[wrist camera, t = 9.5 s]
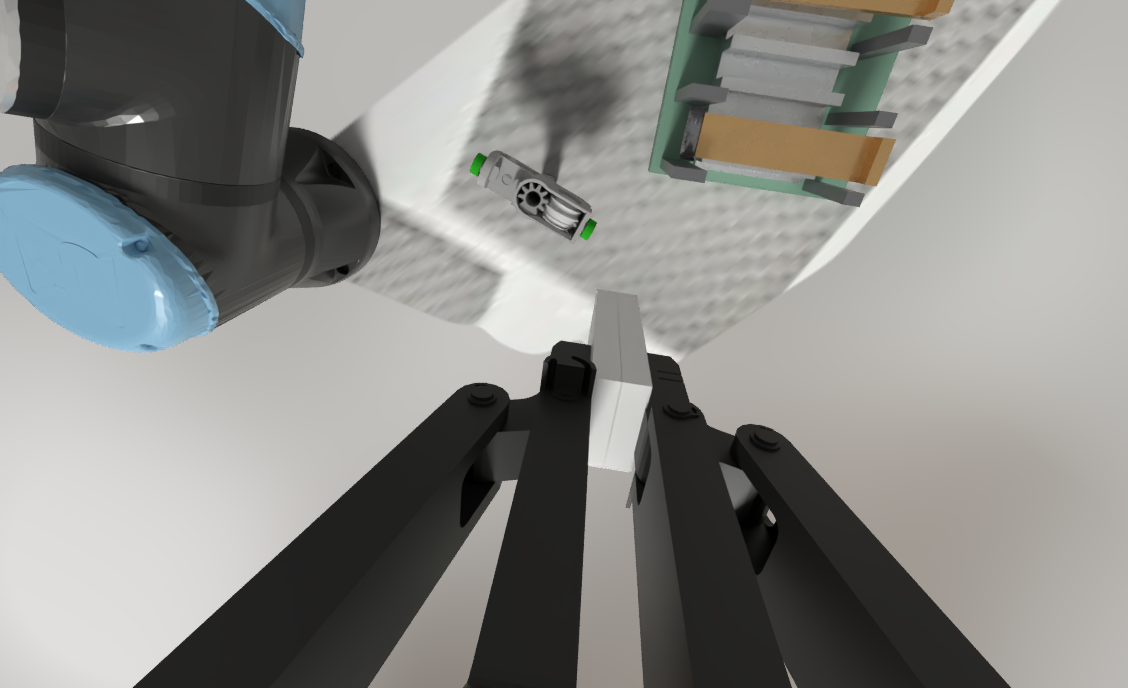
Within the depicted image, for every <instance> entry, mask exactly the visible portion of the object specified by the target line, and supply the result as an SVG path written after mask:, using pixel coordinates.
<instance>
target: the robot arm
mask: <svg viewBox="0 0 1128 688" xmlns="http://www.w3.org/2000/svg"><path fill="white" fill-rule="evenodd" d="M304 10H305V0H0V113H6V114H13V115H19V116H26V117H32V118H33V123H34V135H35V148H36V164H31V165H30V164H21V165H14V166H10V167H8V168H6V169H5V170H3V171H2V172H0V272H1V273H2V274H3V276H4V277H5V278H6V279H7V280H8V282H9V283H10V284H11V285H12V286H13V287H14V288H15V289H16V290H17V291H18V292H19V293H20V294H21V295H22V296H24V297H25V298H26V299H27V300H28V301H29V302H30V303H31V304H32V305H33V306H34V307H35V308H36V309H38V310H39V311H40V312H41V313H43V314H44V315H45V316H47V317H48V318H49V319H51V320H52V321H54V322H56V323H57V324H58V325H60V326H62V327H63V328H65V329H67V330H68V331H70V332H72V333H74V334H76V335H78V336H80V337H82V338H84V339H86V340H89V341H91V342H94V343H96V344H99V345H102V346H105V347H109V348H112V349H116V350H122V351H128V352H155V351H159V350H164V349H167V348H170V347H173V346H175V345H177V344H179V343H182V342H184V341H186V340H188V339H191V338H196V337H199V336H204V335H206V334H208V333H210V332H211V331H213V330H214V329H215V328H216V327H218V326H220V325H222V324H224V323H226V322H227V321H229V320H231V319H233V318H235V317H237V316H238V315H240V314H242V313H244V312H246V311H247V310H249V309H251V308H253V307H255V306H257V305H259V304H260V303H262V302H264V301H266V300H268V299H269V298H271V297H273V296H275V295H277V294H279V293H280V292H282V291H284V290H286V289H288V288H309V287H324V286H329V285H332V284H336V283H338V282H341V281H343V280H345V279H346V278H348V277H350V276H351V275H353V274H355V273H356V272H358V271H359V270H360V269H362V268H363V267H364V266H365V265H366V264H367V262H368V261H369V260H370V258H371V257H372V255H373V253H374V251H375V249H376V246H377V243H378V238H379V232H380V216H379V209H378V205H377V201H376V198H375V195H374V192H373V190H372V188H371V185H370V183H369V181H368V180H367V178H366V176H365V175H364V173H363V172H362V170H361V169H360V167H359V166H358V165H357V163H356V162H355V161H354V160H353V159H352V158H351V157H350V156H349V155H348V154H347V153H346V152H345V151H344V150H343V149H342V148H340V147H339V146H338V145H336V144H335V143H334V142H332V141H330V140H329V139H327V138H325V137H323V136H322V135H319V134H317V133H315V132H312V131H309V130H305V129H301V128H294V127H289V124H290V118H291V111H292V104H293V97H294V91H295V84H296V78H297V71H298V64H299V58H300V57H302V58H303V55H304V48H303V45H302V44H301V39H302V29H303V20H304ZM634 458H635V473H634V477H633V481H632V485H631V488H630V492H629V497H628V500H627V504H626V508H630V506H631V503H632V504H633V520H634V535H635V536H634V537H635V552H636V567H637V586H638V601H639V618H640V634H641V650H642V667H643V684H644V688H792V687H791V684H790V681H789V677H788V674H787V671H786V668H785V665H786V667H787V669H788V671H789V672H790V674H791V676H792V678H793V680H794V681H795V684H796V686H797V687H798V688H1011V687H1010V686H1009V685H1008V684H1007V683H1006V682H1005V680H1004V679H1003V678H1002V677H1001V676H1000V675H999V674H998V673H997V672H996V670H995V669H994V668H993V667H992V666H991V665H990V664H989V663H988V662H987V661H986V659H985V658H984V657H983V656H982V655H981V654H980V653H979V652H978V650H976V648H975V647H974V646H973V645H972V644H971V643H970V642H969V640H968V639H967V638H966V637H965V636H964V635H963V634H962V633H961V632H960V630H959V629H958V628H957V627H956V626H955V625H954V624H953V623H952V621H951V620H950V619H949V618H948V617H947V616H946V615H945V614H944V613H943V612H942V610H941V609H940V608H939V607H938V606H937V605H936V604H935V603H934V602H933V600H932V599H931V598H930V597H929V596H928V595H927V594H926V593H925V592H924V590H923V589H922V588H921V587H920V586H919V585H918V584H917V583H916V582H915V580H914V579H913V578H912V577H911V576H910V575H909V574H908V573H907V572H906V570H905V569H904V568H903V567H902V566H901V565H900V564H899V563H898V561H896V559H895V558H894V557H893V556H892V555H891V554H890V553H889V551H888V550H887V549H886V548H885V547H884V546H883V545H882V544H881V543H880V542H879V540H878V539H877V538H876V537H875V536H874V535H873V534H872V533H871V531H870V530H869V529H868V528H867V527H866V526H865V525H864V524H863V523H862V521H861V520H860V519H859V518H858V517H857V516H856V515H855V514H854V513H853V511H852V510H851V509H850V508H849V507H848V506H847V505H846V504H845V503H844V501H843V500H842V499H841V498H840V497H839V496H838V495H837V494H836V493H835V492H834V490H833V489H832V488H831V487H830V486H829V485H828V484H827V483H826V482H825V480H824V479H823V478H822V477H821V476H820V475H819V474H818V473H817V471H816V470H815V469H814V468H813V467H812V466H811V465H810V464H809V463H808V461H807V460H806V459H805V458H804V457H803V456H802V455H801V454H800V453H799V451H798V450H797V449H796V448H795V447H794V446H793V445H792V444H791V442H790V441H788V440H787V439H786V438H785V437H784V436H783V435H781V434H779V433H778V432H776V431H774V430H773V429H771V428H768V427H765V426H762V425H754V424H747V425H742V426H740V427H739V428H738V429H737V431H736V434H735V436H734V435H731V434H728V433H725V432H722V431H719V430H717V429H715V428H712V427H710V426H708V425H707V423H706V420H705V417H704V415H703V413H702V412H701V410H700V409H699V408H697V407H696V406H695V405H694V404H692V403H690V402H689V399H688V395H687V392H686V388H685V385H684V383H683V378H682V376H681V371H680V368H679V365H678V364H677V363H676V362H675V361H674V360H673V359H672V358H671V357H670V356H663V355H657V354H651V353H647V351H646V345H645V339H644V333H643V327H642V322H641V316H640V310H639V304H638V298H637V295H631V294H625V293H618V292H612V291H605V290H599V289H597V293H596V299H595V305H594V311H593V316H592V322H591V328H590V334H589V339H588V345H586V344H579V343H573V342H567V341H560V342H558V343H557V344H556V345H554V346H553V348H552V352H551V355H550V356H548V357H547V358H546V359H545V361H544V363H543V371H542V378H541V386H540V392H539V393H538V394H537V395H534V396H532V397H529V398H526V399H517V400H510V398H509V395H508V393H507V392H506V391H505V390H504V389H503V388H501V387H498V386H496V385H493V384H488V383H473V384H469V385H465V386H463V387H462V388H460V389H459V390H457V391H456V392H455V393H454V394H453V395H452V396H451V397H450V398H448V399H447V400H446V401H445V402H444V403H443V404H442V405H441V406H440V407H439V408H438V409H436V410H435V411H434V412H433V413H432V414H431V415H430V416H429V417H428V418H427V419H425V420H424V421H423V422H422V423H421V424H420V425H419V426H418V427H417V428H416V429H415V430H413V431H412V432H411V433H410V434H409V435H408V436H407V437H406V438H405V439H404V440H402V441H401V442H400V443H399V444H398V445H397V446H396V447H395V448H394V449H393V450H392V451H390V452H389V453H388V454H387V455H386V456H385V457H384V458H383V459H382V460H381V461H380V462H379V463H377V464H376V465H375V466H374V467H373V468H372V469H371V470H370V471H369V472H368V473H367V474H365V475H364V476H363V477H362V478H361V479H360V480H359V481H358V482H357V483H356V484H354V485H353V486H352V487H351V488H350V489H349V490H348V491H347V492H346V493H345V494H344V495H342V496H341V497H340V498H339V499H338V500H337V501H336V502H335V503H334V504H333V505H332V506H330V507H329V508H328V509H327V510H326V511H325V512H324V513H323V514H322V515H321V516H320V517H318V518H317V519H316V520H315V521H314V522H313V523H312V524H311V525H310V526H309V527H308V528H306V529H305V530H304V531H303V532H302V533H301V534H300V535H299V536H298V537H297V538H296V539H294V540H293V541H292V542H291V543H290V544H289V545H288V546H287V547H286V548H285V549H283V550H282V551H281V552H280V553H279V554H278V555H277V556H276V557H275V558H274V559H273V560H272V561H270V562H269V563H268V564H267V565H266V566H265V567H264V568H263V569H262V570H261V571H259V572H258V574H256V575H255V576H254V577H253V578H252V579H251V580H250V581H249V582H247V583H246V584H245V585H244V586H243V587H242V588H241V589H240V590H239V591H238V592H237V593H235V594H234V595H233V596H232V597H231V598H230V599H229V600H228V601H227V602H226V603H225V604H224V605H222V606H221V607H220V608H219V609H218V610H217V611H216V612H215V613H214V614H213V615H212V616H210V617H209V618H208V619H207V620H206V621H205V622H204V623H203V624H202V625H200V626H199V627H198V628H197V629H196V630H195V631H194V632H193V633H192V634H191V635H190V636H189V637H187V638H186V639H185V640H184V641H183V642H182V643H181V644H180V645H179V646H178V647H176V648H175V649H174V650H173V651H172V652H171V653H170V654H169V655H168V656H167V657H166V658H164V659H163V660H162V661H161V662H160V663H159V664H158V665H157V666H156V667H155V668H154V669H153V670H151V671H150V672H149V673H148V674H147V675H146V676H145V677H144V678H143V679H142V680H140V681H139V682H138V683H137V684H136V685H135V686H134V687H133V688H368V686H369V685H370V683H371V682H372V680H373V679H374V677H375V676H376V674H377V673H378V671H379V670H380V668H381V667H382V665H383V664H384V662H385V661H386V659H387V658H388V656H389V655H390V653H391V652H392V650H393V649H394V647H395V646H396V644H397V643H398V641H399V639H400V638H401V637H402V635H403V634H404V632H405V631H406V629H407V628H408V626H409V624H410V623H411V621H412V620H413V618H414V617H415V615H416V614H417V612H418V611H419V609H420V608H421V606H422V605H423V603H424V602H425V600H426V599H427V597H428V596H429V594H430V593H431V591H432V590H433V588H434V587H435V585H436V583H437V582H438V581H439V579H440V578H441V576H442V575H443V573H444V572H445V570H446V569H447V567H448V565H449V564H450V563H451V561H452V560H453V558H454V557H455V555H456V554H457V552H458V551H459V549H460V547H461V546H462V545H463V543H464V541H465V540H466V538H467V537H468V536H469V534H470V532H471V531H472V529H473V528H474V526H475V525H476V523H477V522H478V520H479V519H480V517H481V516H482V514H483V513H484V511H485V510H486V508H487V507H488V505H489V504H490V502H491V501H492V499H493V498H494V496H495V495H496V493H497V492H498V490H499V489H500V486H501V483H502V481H507V480H518V481H517V485H516V489H515V493H514V498H513V502H512V506H511V510H510V514H509V518H508V522H507V526H506V530H505V534H504V539H503V542H502V546H501V551H500V554H499V559H498V563H497V566H496V571H495V575H494V579H493V583H492V587H491V591H490V595H489V599H488V603H487V607H486V611H485V615H484V619H483V623H482V628H481V631H480V635H479V640H478V644H477V648H476V652H475V656H474V660H473V664H472V668H471V671H470V675H469V678H468V681H467V683H466V685H465V686H464V687H463V688H576V683H577V682H576V681H577V664H578V644H579V626H580V607H581V587H582V570H583V569H582V568H583V551H584V531H585V512H586V493H587V475H588V466H593V467H599V468H605V469H612V470H618V471H624V472H631V469H632V465H633V461H634ZM769 509H770V511H771V512H772V513H773V515H774V517H775V519H776V522H775V524H773V523H772V522H771V521H770V520H769V518H768V517H767V512H768V510H769ZM783 661H784V662H783ZM784 663H785V665H784Z"/></svg>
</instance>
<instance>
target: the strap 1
mask: <svg viewBox="0 0 1128 688" xmlns="http://www.w3.org/2000/svg"><path fill="white" fill-rule="evenodd" d="M765 1H773V2H781V3H789V4H797V5H806V6H814V7H822V8H830V9H838V10H846V11H855V12H863V13H871V14H879V15H887V16H895V17H904V18H912V19H920V20H928V21H930V20H932V19H935V18H937V17H940V16H943V15H945V14H948V13H949V12H950V10H951V7H952V5H953V3H954V0H765Z"/></svg>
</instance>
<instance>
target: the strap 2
mask: <svg viewBox="0 0 1128 688" xmlns="http://www.w3.org/2000/svg"><path fill="white" fill-rule="evenodd" d="M706 112H707V108H704V107H698V106H691V107H690V111H689V115H688V120H687V124H686V129H685V133H684V137H683V142H682V146H681V150H680V155H679V159H682V160H688V161H695V157H698V158H704V159H710V160H717V161H723V162H730V163H736V164H742V165H749V166H755V167H762V168H768V169H774V170H781V171H787V172H794V173H800V174H806V175H813V176H819V177H826V178H832V179H839V180H845V181H851V182H857V183H861V184H865V185H872V186H877V184H878V182H879V179H880V177H881V174H882V172H883V170H884V167H885V165H886V162H887V160H888V158H889V155H890V153H891V151H892V148H893V146H894V143H895V141H896V139H889V138H878V137H869V136H862V135H855V134H848V133H841V132H835V131H828V130H821V129H814V128H807V127H801V126H794V125H787V124H780V123H773V122H767V121H760V120H753V119H746V118H739V117H732V116H726V115H719V114H712V113H706Z"/></svg>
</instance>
